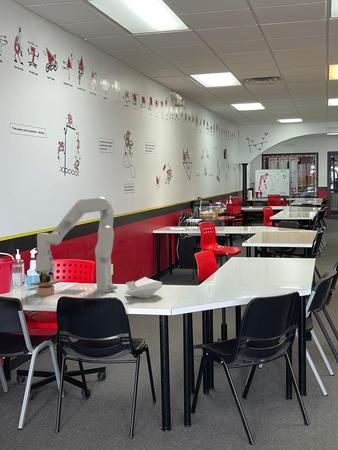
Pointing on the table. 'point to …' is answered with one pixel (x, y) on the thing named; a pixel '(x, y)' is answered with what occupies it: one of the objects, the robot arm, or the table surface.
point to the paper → (143, 288)
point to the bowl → (45, 290)
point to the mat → (71, 292)
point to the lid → (45, 281)
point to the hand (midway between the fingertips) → (45, 281)
